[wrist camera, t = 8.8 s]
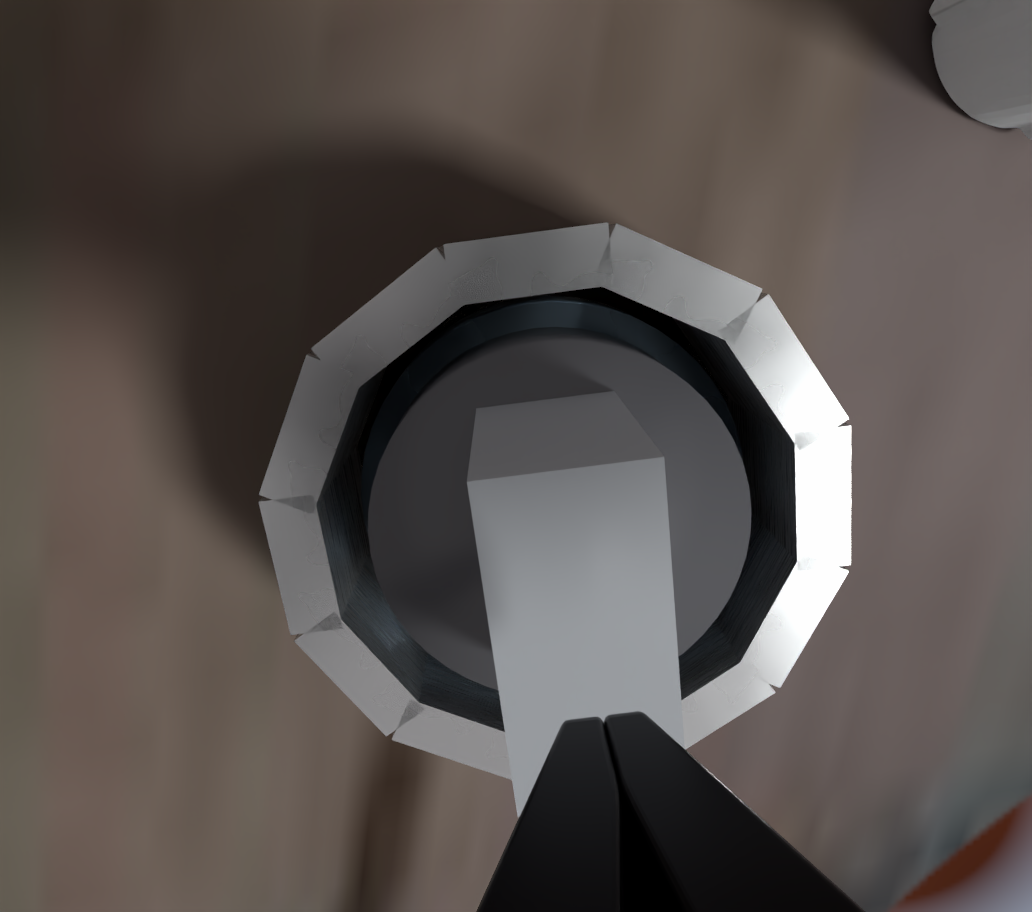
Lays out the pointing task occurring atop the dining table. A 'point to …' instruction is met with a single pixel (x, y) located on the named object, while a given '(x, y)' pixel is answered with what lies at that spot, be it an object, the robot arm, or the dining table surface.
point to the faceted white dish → (557, 268)
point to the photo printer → (986, 58)
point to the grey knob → (560, 530)
